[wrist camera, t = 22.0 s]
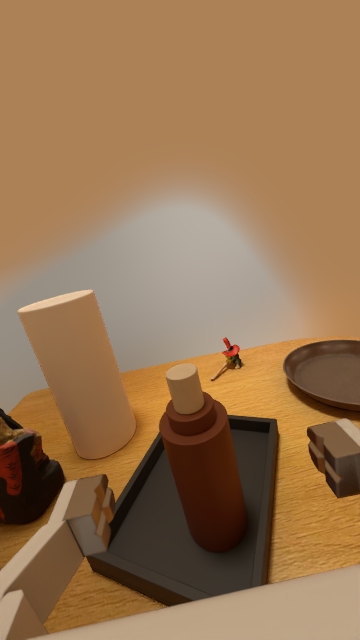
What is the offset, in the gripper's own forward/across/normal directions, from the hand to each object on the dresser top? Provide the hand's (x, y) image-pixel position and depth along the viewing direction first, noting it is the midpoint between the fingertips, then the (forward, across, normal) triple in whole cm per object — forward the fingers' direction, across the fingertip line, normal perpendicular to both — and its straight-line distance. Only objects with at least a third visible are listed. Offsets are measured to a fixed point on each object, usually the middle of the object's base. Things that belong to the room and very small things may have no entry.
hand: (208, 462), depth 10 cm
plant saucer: (+30, -26, +21) cm, 45 cm away
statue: (+21, +27, +21) cm, 40 cm away
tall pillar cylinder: (+31, +17, +21) cm, 41 cm away
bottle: (+12, +1, +20) cm, 23 cm away
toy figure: (+43, -8, +21) cm, 49 cm away
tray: (+16, +2, +21) cm, 26 cm away
